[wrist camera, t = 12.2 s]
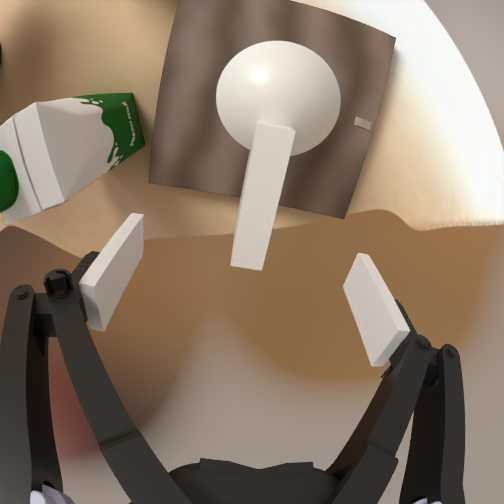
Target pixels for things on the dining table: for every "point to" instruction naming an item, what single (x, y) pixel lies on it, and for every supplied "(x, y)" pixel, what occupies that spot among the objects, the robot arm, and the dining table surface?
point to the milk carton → (63, 149)
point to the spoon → (272, 128)
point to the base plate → (207, 117)
